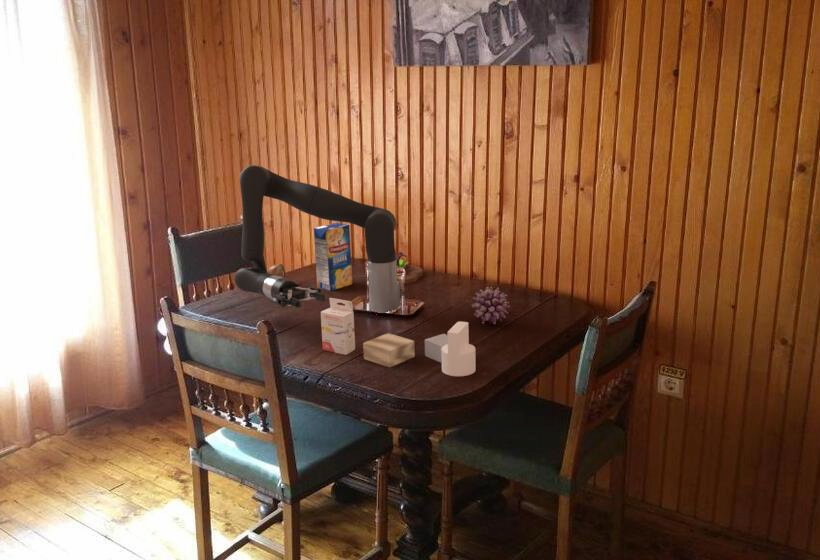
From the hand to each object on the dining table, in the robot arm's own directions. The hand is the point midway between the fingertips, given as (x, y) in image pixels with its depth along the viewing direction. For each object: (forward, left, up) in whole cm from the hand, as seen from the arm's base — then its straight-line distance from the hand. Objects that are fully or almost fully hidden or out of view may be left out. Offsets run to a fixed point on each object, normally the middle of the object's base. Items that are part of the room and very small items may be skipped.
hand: (311, 301), depth 238 cm
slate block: (-17, +36, -12) cm, 42 cm away
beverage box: (-39, -41, -12) cm, 58 cm away
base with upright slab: (-13, +46, -12) cm, 50 cm away
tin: (-22, -54, -13) cm, 59 cm away
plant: (-62, -33, -13) cm, 71 cm away
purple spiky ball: (-46, +28, -12) cm, 56 cm away
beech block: (-6, +26, -13) cm, 30 cm away
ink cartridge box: (0, +11, -12) cm, 17 cm away
